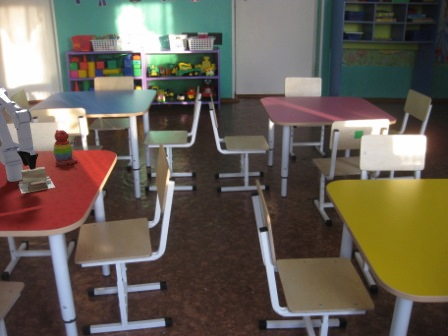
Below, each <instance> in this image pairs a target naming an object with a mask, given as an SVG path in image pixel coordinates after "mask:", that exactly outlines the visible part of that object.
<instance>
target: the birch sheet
mask: <svg viewBox="0 0 448 336" xmlns="http://www.w3.org/2000/svg"><path fill="white" fill-rule="evenodd" d="M21 174H22V181H23V184H27V183H32V182H38V181H44V180H47V177H48V176H47V171H46V167H45V166H40V167H36V169H33V170H30V168H28V169H23V170H21Z"/></svg>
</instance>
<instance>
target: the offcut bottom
mask: <svg viewBox="0 0 448 336" xmlns="http://www.w3.org/2000/svg"><path fill="white" fill-rule="evenodd" d="M47 188H48V185H47V183H46V186H40V187H35V188H29V186H28V191H29V192H28V193H31V191H34V192H37V191H36V190H39V191H43V190H42V189H44V190H48V189H47Z"/></svg>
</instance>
